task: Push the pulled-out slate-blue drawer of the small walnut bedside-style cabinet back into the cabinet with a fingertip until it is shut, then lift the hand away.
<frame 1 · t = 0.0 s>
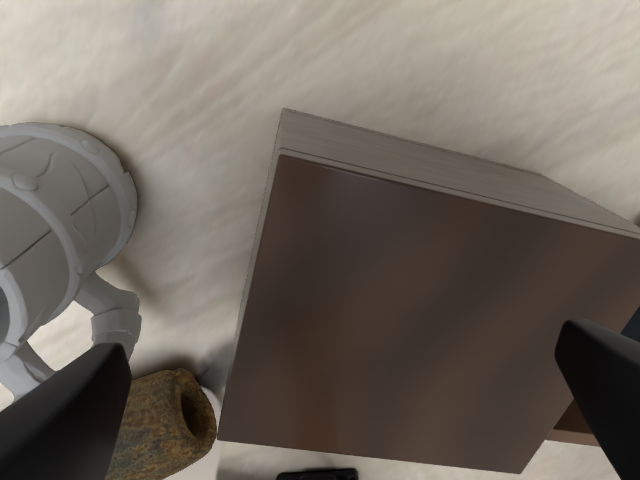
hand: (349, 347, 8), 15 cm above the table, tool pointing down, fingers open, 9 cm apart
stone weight: (114, 408, 29), on the table
drawer: (565, 320, 22), point 5 cm above the table, slide at 7.0 cm
cabinet: (381, 246, 24), on the table
mug: (93, 223, 22), on the table
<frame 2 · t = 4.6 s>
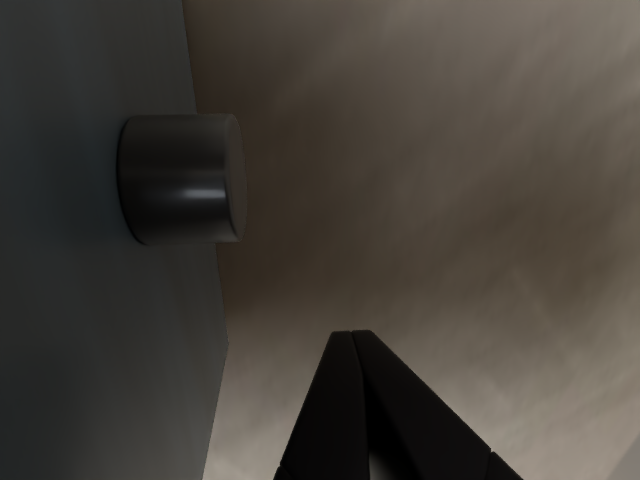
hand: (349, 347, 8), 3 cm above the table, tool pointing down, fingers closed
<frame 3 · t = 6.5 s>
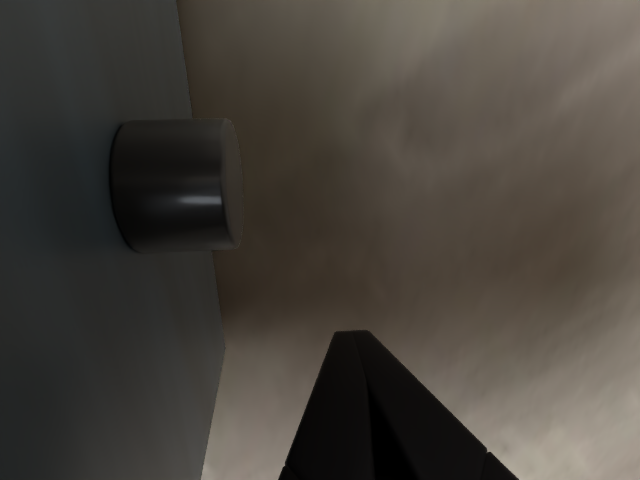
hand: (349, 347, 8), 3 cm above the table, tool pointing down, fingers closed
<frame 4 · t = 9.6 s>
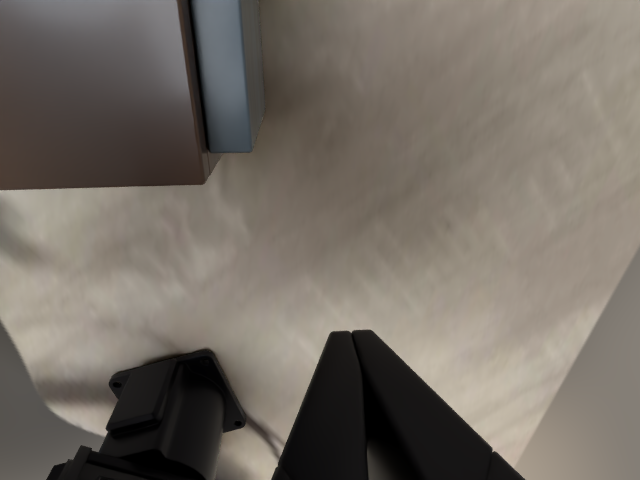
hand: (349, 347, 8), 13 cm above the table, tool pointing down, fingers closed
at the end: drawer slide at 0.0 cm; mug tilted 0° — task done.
